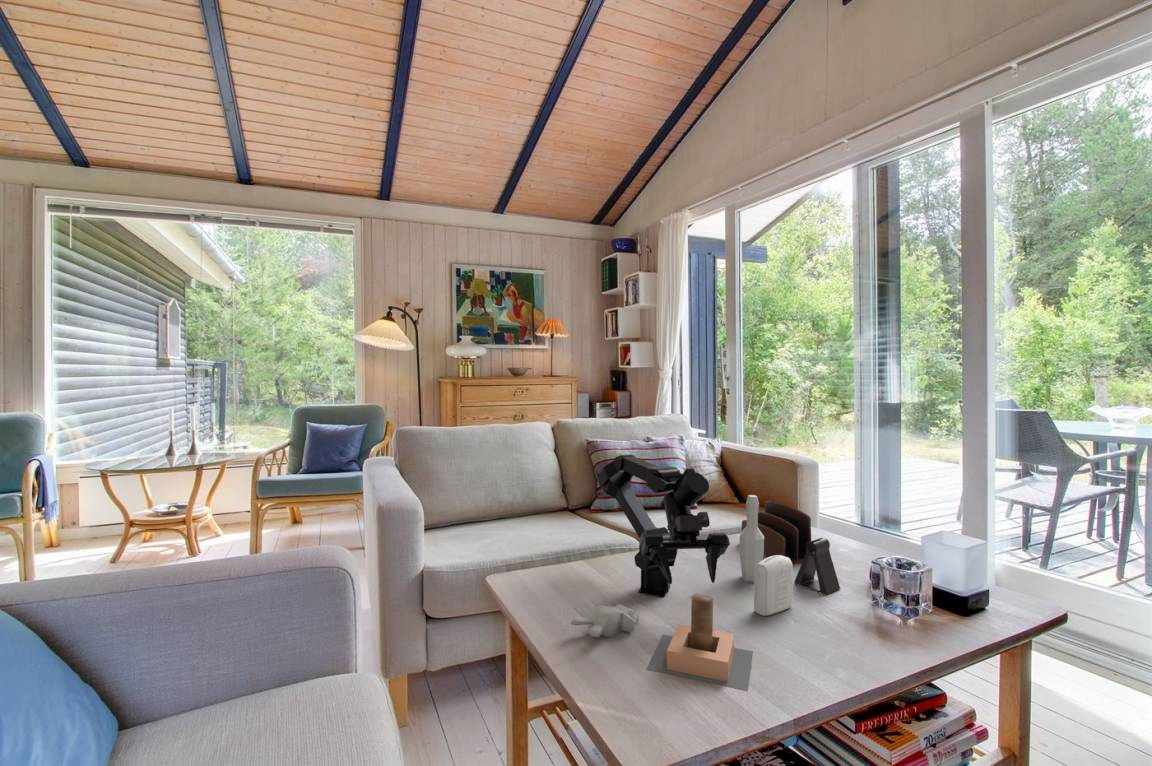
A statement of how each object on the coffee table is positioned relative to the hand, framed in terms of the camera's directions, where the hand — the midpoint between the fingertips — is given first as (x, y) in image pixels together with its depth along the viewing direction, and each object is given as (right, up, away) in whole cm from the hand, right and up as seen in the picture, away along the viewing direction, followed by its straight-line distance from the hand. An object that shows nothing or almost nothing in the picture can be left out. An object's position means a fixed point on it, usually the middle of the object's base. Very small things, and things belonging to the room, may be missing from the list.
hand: (692, 582), depth 118 cm
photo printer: (+21, -10, +11) cm, 26 cm away
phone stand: (+37, -10, +24) cm, 45 cm away
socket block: (-1, -11, -12) cm, 16 cm away
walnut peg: (-1, -11, -12) cm, 16 cm away
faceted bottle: (+22, -10, +29) cm, 37 cm away
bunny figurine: (-18, -11, 0) cm, 21 cm away
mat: (-1, -11, -12) cm, 16 cm away
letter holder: (+35, -9, +49) cm, 61 cm away
